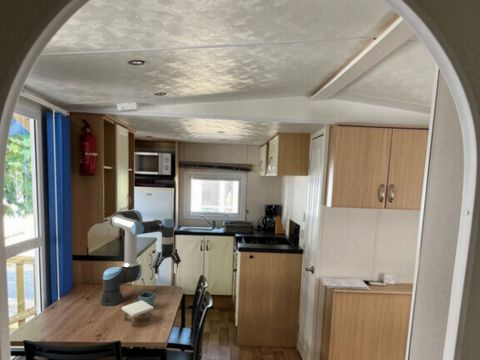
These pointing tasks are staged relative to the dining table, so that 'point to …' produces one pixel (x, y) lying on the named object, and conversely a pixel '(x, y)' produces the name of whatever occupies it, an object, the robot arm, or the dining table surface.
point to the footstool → (137, 310)
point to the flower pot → (147, 297)
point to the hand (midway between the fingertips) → (166, 276)
